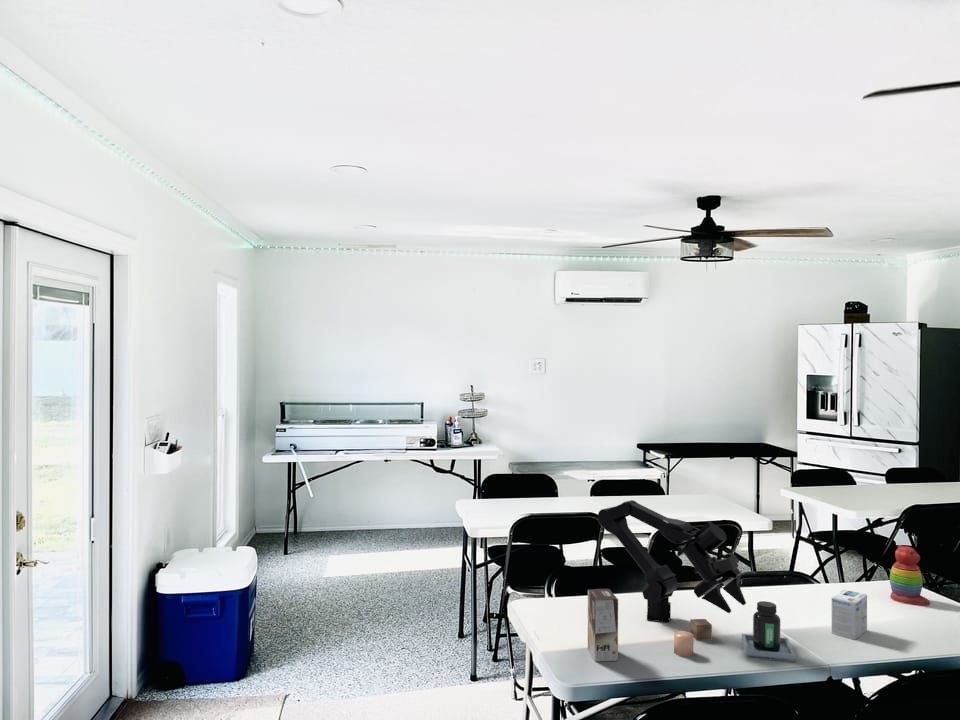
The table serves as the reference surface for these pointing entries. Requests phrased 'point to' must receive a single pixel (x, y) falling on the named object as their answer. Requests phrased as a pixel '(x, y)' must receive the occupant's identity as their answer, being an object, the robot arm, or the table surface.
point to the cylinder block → (683, 643)
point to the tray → (783, 655)
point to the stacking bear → (907, 577)
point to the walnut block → (701, 629)
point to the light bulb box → (849, 614)
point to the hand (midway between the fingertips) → (737, 608)
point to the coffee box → (603, 625)
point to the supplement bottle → (766, 627)
